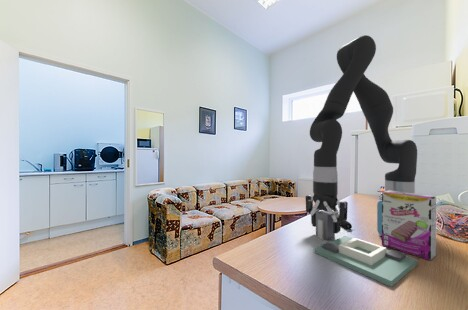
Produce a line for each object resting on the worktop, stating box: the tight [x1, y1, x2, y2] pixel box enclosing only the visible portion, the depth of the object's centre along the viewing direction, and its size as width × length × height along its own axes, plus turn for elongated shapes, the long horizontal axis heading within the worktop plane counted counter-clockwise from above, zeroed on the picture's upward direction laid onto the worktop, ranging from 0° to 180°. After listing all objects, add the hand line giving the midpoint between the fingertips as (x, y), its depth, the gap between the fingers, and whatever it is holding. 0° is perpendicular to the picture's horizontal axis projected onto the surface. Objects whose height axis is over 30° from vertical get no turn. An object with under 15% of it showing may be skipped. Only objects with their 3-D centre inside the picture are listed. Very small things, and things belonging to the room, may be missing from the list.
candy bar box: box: [381, 190, 437, 261], centre depth 58 cm, size 11×5×16 cm, turn 34°
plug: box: [315, 210, 336, 241], centre depth 68 cm, size 5×4×8 cm
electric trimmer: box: [340, 220, 353, 229], centre depth 82 cm, size 4×16×3 cm, turn 175°
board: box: [314, 235, 418, 288], centre depth 54 cm, size 16×18×3 cm
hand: (325, 229), depth 68 cm, fingers open, 7 cm apart
